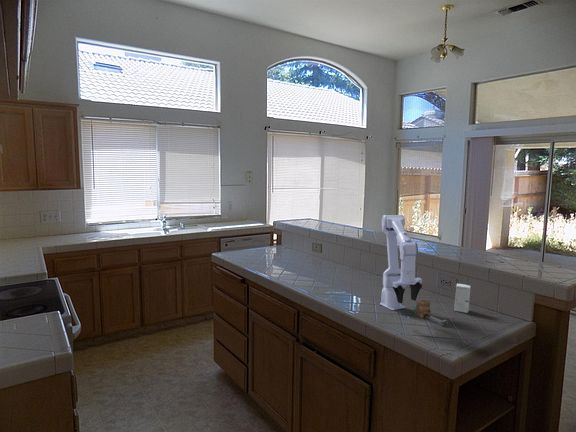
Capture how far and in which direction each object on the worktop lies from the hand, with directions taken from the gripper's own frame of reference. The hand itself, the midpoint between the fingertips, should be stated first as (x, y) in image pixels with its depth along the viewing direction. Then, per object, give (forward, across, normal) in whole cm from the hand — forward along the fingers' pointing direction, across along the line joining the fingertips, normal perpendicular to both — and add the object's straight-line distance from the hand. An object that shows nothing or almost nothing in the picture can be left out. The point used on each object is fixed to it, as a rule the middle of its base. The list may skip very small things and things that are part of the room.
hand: (406, 301), depth 165 cm
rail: (+9, +12, -2) cm, 15 cm away
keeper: (+9, +12, +2) cm, 15 cm away
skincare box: (+10, +33, -1) cm, 34 cm away
